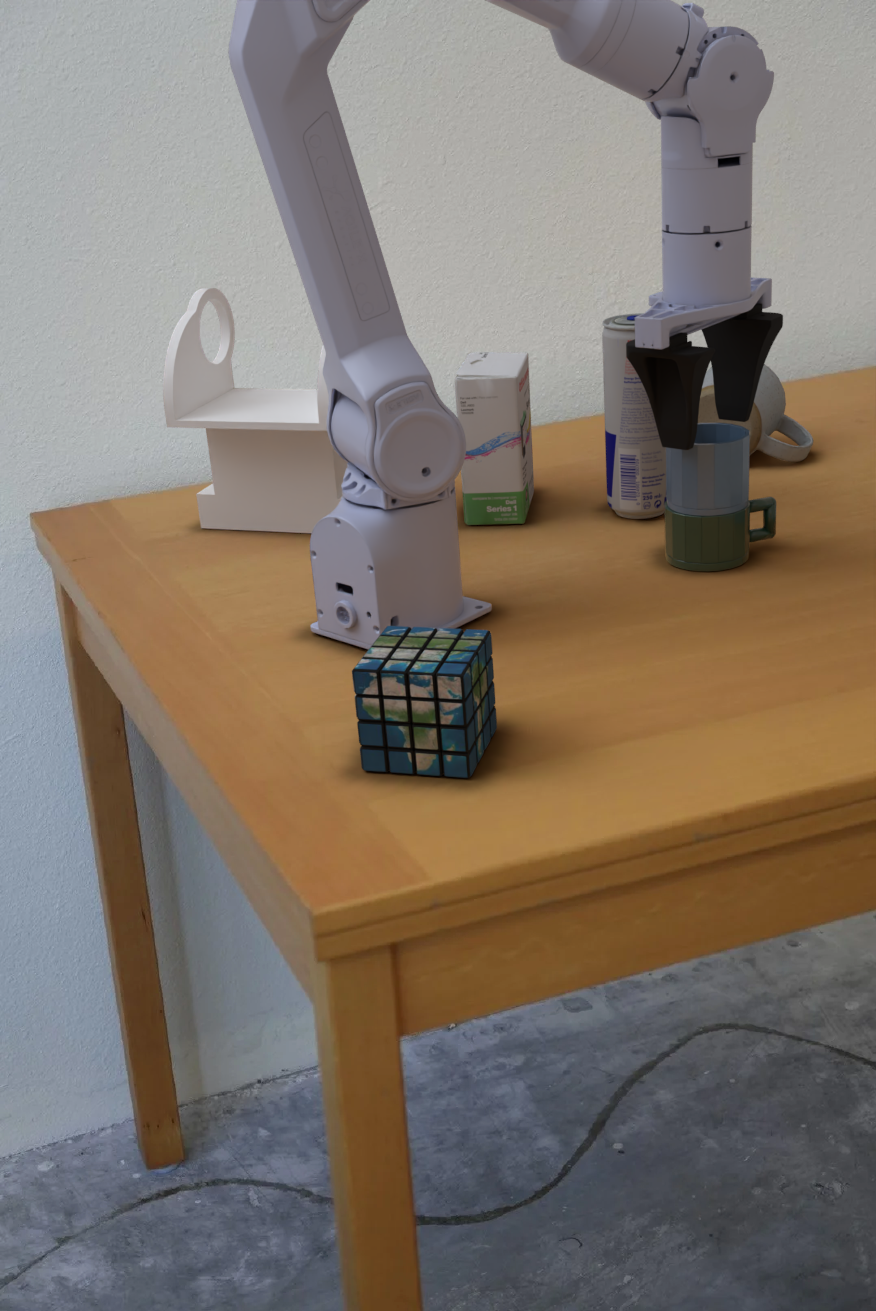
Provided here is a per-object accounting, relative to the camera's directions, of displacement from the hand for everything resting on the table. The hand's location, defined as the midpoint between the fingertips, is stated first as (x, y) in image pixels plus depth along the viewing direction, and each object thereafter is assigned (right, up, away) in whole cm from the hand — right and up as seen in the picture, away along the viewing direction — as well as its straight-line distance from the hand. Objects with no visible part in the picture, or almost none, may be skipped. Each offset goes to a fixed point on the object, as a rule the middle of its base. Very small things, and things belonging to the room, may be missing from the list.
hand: (706, 433), depth 101 cm
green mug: (+2, -8, +4) cm, 9 cm away
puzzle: (-19, -20, -21) cm, 35 cm away
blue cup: (0, -5, +2) cm, 5 cm away
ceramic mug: (+8, +2, +26) cm, 27 cm away
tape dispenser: (-30, -4, +19) cm, 35 cm away
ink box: (-13, -4, +17) cm, 22 cm away
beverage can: (-3, -4, +14) cm, 15 cm away
